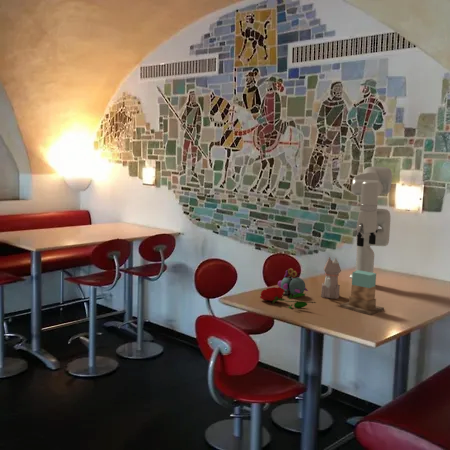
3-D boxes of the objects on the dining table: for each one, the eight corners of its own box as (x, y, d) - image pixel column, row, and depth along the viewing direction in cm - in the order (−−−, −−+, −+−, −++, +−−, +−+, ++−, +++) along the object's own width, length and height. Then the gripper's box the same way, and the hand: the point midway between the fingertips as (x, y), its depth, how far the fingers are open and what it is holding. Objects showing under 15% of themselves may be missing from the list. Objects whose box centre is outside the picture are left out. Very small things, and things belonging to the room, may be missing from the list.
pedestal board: (340, 306, 263) (340, 296, 262) (354, 302, 271) (355, 292, 270) (369, 314, 251) (370, 303, 251) (383, 310, 259) (384, 299, 259)
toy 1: (273, 294, 283) (297, 299, 272) (274, 267, 281) (297, 272, 271) (287, 290, 291) (310, 295, 280) (288, 265, 289) (311, 269, 279)
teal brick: (351, 284, 260) (352, 272, 259) (357, 282, 265) (358, 270, 264) (369, 288, 254) (370, 275, 254) (375, 286, 259) (376, 273, 258)
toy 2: (340, 294, 285) (343, 256, 283) (335, 303, 268) (338, 262, 266) (323, 292, 288) (325, 254, 285) (317, 301, 271) (319, 261, 268)
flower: (318, 287, 254) (262, 281, 271) (310, 300, 247) (253, 293, 265) (323, 302, 258) (267, 295, 275) (315, 315, 252) (259, 308, 269)
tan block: (350, 296, 262) (351, 284, 261) (358, 294, 266) (359, 282, 265) (367, 300, 255) (368, 288, 254) (374, 298, 259) (375, 286, 258)
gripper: (371, 206, 263) (369, 242, 265) (350, 208, 251) (348, 245, 254) (386, 208, 258) (383, 244, 260) (365, 210, 246) (362, 248, 248)
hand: (366, 245), depth 257 cm, fingers open, 9 cm apart
